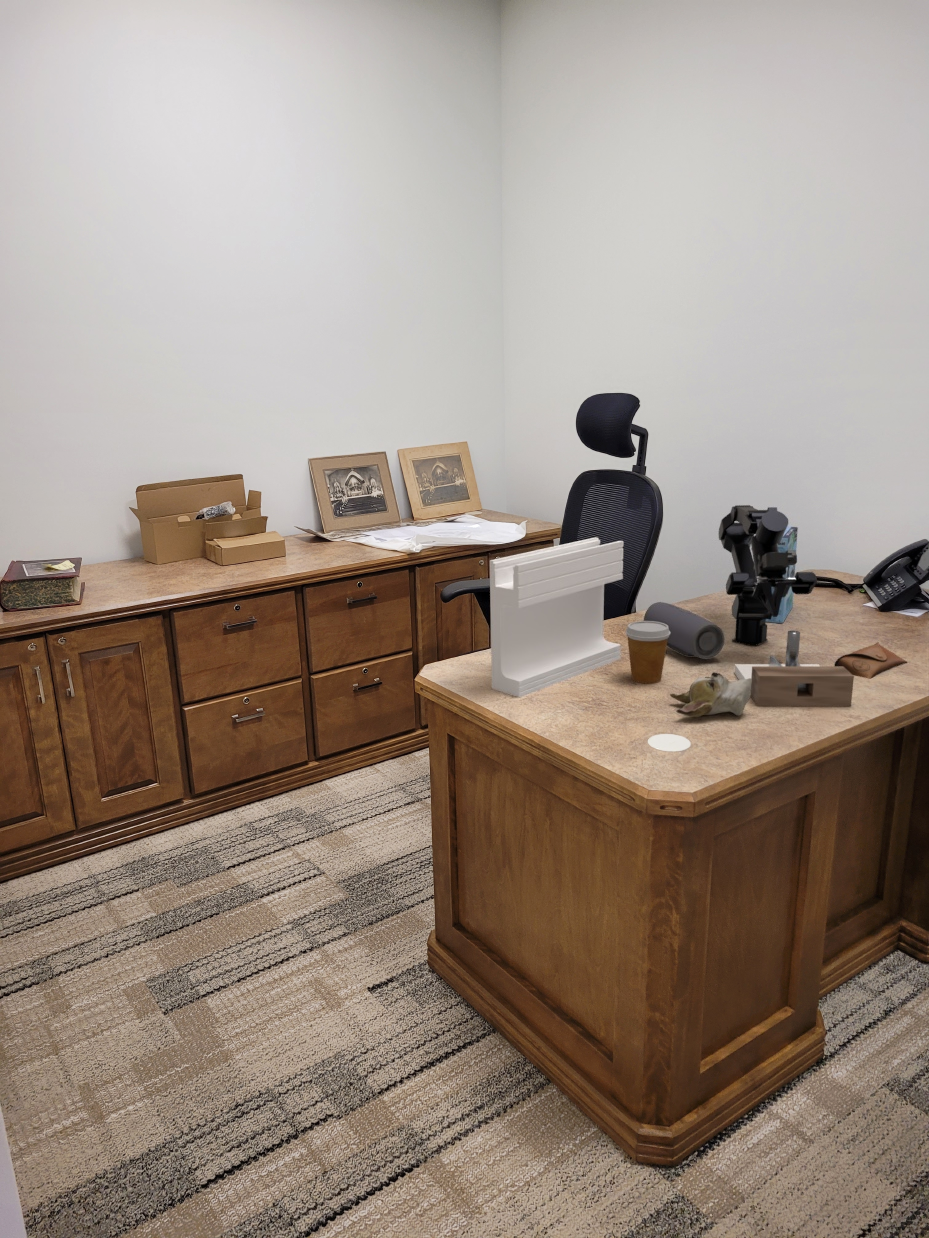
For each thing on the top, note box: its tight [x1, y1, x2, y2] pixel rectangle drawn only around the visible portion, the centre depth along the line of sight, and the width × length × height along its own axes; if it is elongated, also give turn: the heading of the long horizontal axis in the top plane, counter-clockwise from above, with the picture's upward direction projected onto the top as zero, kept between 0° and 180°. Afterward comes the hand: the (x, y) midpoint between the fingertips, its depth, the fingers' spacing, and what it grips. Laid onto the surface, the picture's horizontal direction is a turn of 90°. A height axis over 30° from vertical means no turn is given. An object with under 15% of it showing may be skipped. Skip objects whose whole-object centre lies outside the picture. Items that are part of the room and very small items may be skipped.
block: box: [489, 537, 624, 698], centre depth 192 cm, size 35×8×28 cm, turn 134°
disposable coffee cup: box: [625, 620, 670, 684], centre depth 189 cm, size 10×10×12 cm
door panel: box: [733, 654, 821, 680], centre depth 186 cm, size 11×18×5 cm, turn 86°
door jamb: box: [750, 665, 855, 707], centre depth 175 cm, size 6×18×6 cm, turn 86°
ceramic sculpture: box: [669, 672, 752, 718], centre depth 169 cm, size 11×9×15 cm
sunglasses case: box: [834, 641, 908, 680], centre depth 195 cm, size 18×7×7 cm
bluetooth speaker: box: [643, 601, 726, 660], centre depth 208 cm, size 23×9×10 cm, turn 18°
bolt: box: [784, 630, 806, 690], centre depth 177 cm, size 8×2×10 cm, turn 176°
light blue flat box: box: [766, 526, 799, 624], centre depth 236 cm, size 20×5×23 cm, turn 152°
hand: (775, 616), depth 192 cm, fingers closed
